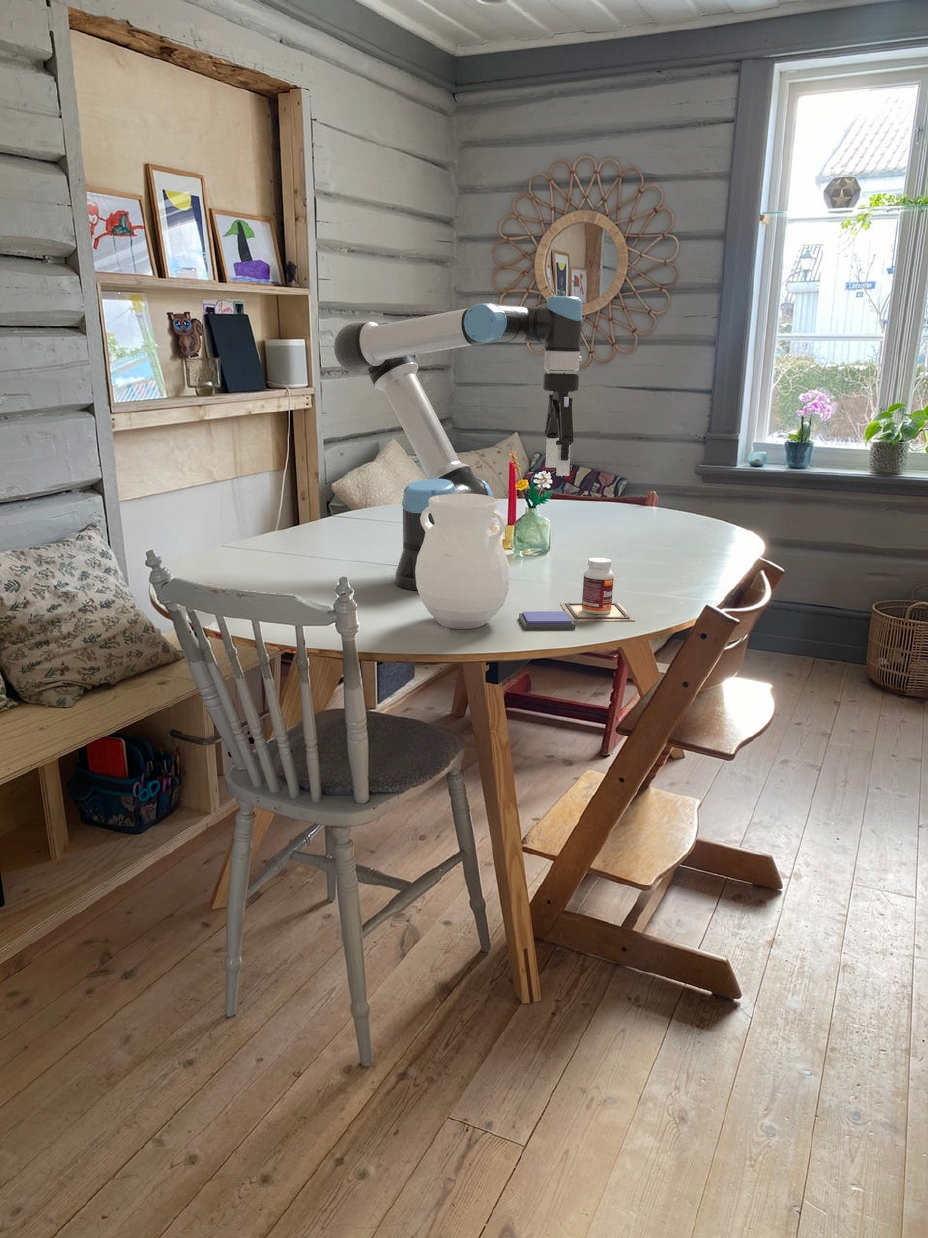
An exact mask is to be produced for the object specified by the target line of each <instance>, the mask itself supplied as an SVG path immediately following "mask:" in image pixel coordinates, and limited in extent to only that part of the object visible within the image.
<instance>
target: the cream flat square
mask: <svg viewBox="0 0 928 1238" xmlns="http://www.w3.org/2000/svg"><path fill="white" fill-rule="evenodd" d="M559 605H560V607H562V610H564V611H565V612H566V613H568V614H569V616H570V617H571V619H572V620H573V621H574V622H635V621H636V619H635V618H634V617H633V616H632V615H631V614H630V613H629V612H628V611H627V609H626V608H625V607H624V606H623V605H622V604H621V603H620V602H612V606H611V611H610V612H609V613H607V614H590V613H586V612H584V611H583V610H582V602H577V603H576V602H565V603H561V602H560V604H559Z"/></svg>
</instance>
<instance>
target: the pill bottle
mask: <svg viewBox="0 0 928 1238" xmlns="http://www.w3.org/2000/svg"><path fill="white" fill-rule="evenodd" d="M587 566H588V568H586V569H585V570H584V571H583V583H582V595H581V596H582V598H581V599H582V600H581V603H582V610H583V611H584V612H586V613H590V614H607V613H609V612H610V611H611V606H612V603H613V593H614V591H613V590H614V577H615V576H614V572H613V571H612V569H611V567H612V560H611V559H609V558H606V557H590V558H588V562H587Z"/></svg>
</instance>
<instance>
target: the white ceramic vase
mask: <svg viewBox="0 0 928 1238" xmlns="http://www.w3.org/2000/svg"><path fill="white" fill-rule="evenodd" d="M428 502H429V506H428V507H427V508H426V509H425V510H424V511H423V512H422V514H421V517H420V520H421V525H422V527H423V528H424V530H425V532H426V533H425V537H424V541H423V544H422V546H421V549H420V551H419V554H418V556H417V562H416V568H415V574H416V587H417V590H416V591H417V592H418V596H419V598H420V602H421V603H422V604H423V606H425V608H426V609H427V611H428V613H429V614H430V615H431V616H432V617H433V618H434V620H436V621H437V623H439V625H440V626H442V627H444V628H449V629H452V630H453V629H454V630H455V629H456V630H470V629H478V628H480V627H482V626H484V625H485V624H487V623H488V622H489V621H490V620H491V619H493V618H494V616H495V615H497V613H498V612H499V611H500V610H501V609H502V607H503V606H504V604H505V601H506V598H507V596H508V594H509V591H510V580H511V575H510V565H509V559H508V557H507V554H506V551H505V548H504V546H503V545H502V543H501V541H500V538H501V536H502V535H503V533H504V532H505V530H506V529H507V525H508V520H507V517H506V516H505V515H504V514H503V512H502V511H500V510H498V509H497V508H498V504H499V502H498V501H497V499H496V497H494V496H493V497H490V496H487V495H480V494H469V493H462V494H446V495H438V496H432V497H431V498H429V500H428ZM429 513H431V514H432V517H433V520H434V523H435V524H434V525H432V524H431V523H430V521H429V518H428V515H429ZM493 519H497V520H498V521H499V524H500V527H499V529H498V530H497V531H494V532H493V530H492V529H491V528H490V525H491V522H492V520H493Z"/></svg>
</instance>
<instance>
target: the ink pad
mask: <svg viewBox="0 0 928 1238" xmlns="http://www.w3.org/2000/svg"><path fill="white" fill-rule="evenodd" d="M518 619H519V621H520V623H521V626H522V627H523V630H525V631H530V630H531V631H536V630H537V631H541V630H542V631H545V630H548V631H549V630H550V631H551V630H555V631H557V630H559V631H560V630H561V631H562V630H566V631H568V630H573V631H574V630H576V622H575V621H573V620H572V619H571V617H570V616H569V614H568V613H566V612H565V611H561V610H559V611H558V610H556V611H554V610H553V611H552V610H551V611H548V610H546V611H542V610H541V611H522V612H518Z"/></svg>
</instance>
